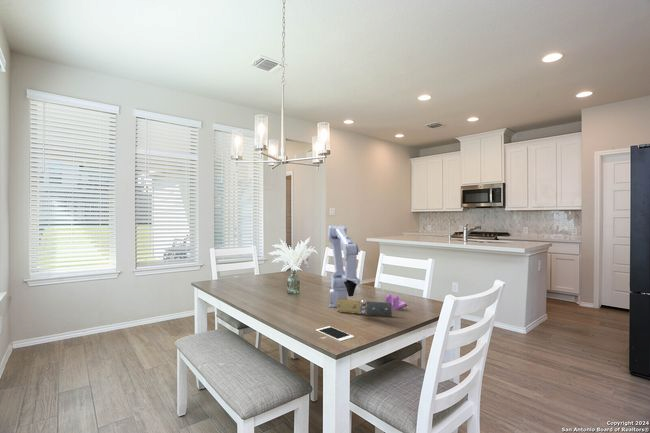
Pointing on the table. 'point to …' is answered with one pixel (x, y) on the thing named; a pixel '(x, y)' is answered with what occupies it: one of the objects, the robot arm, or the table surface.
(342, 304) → the brass leaf
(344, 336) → the cell phone
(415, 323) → the table surface
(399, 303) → the bracket
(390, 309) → the dark grey piece
